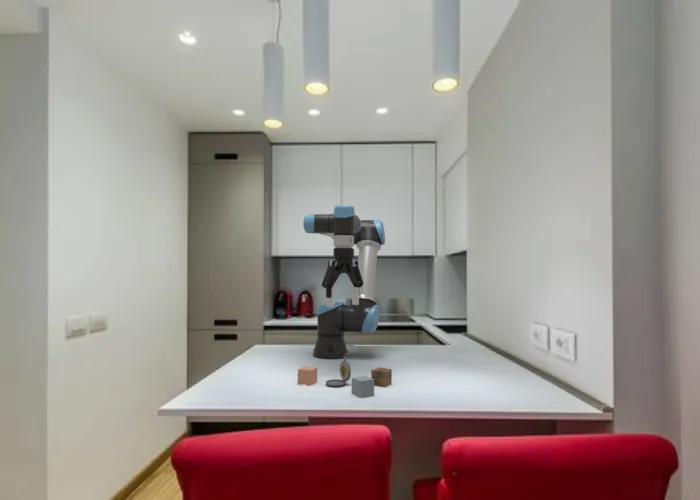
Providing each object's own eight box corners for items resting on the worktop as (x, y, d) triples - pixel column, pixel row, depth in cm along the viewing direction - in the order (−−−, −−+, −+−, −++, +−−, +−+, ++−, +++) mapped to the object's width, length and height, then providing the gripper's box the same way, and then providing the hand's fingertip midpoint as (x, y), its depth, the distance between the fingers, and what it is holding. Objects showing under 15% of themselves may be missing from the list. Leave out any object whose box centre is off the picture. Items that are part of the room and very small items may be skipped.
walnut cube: (371, 385, 150) (371, 370, 150) (378, 381, 154) (378, 367, 154) (384, 387, 147) (384, 372, 147) (391, 384, 151) (391, 369, 151)
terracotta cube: (297, 384, 150) (297, 369, 150) (303, 380, 155) (303, 366, 155) (311, 385, 148) (311, 370, 148) (317, 382, 153) (317, 367, 153)
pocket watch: (322, 385, 148) (322, 355, 148) (334, 380, 155) (335, 350, 156) (343, 389, 144) (344, 357, 144) (355, 383, 152) (356, 353, 152)
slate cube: (351, 393, 140) (351, 377, 140) (364, 391, 142) (364, 375, 142) (360, 398, 135) (360, 381, 135) (374, 395, 138) (374, 379, 138)
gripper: (327, 246, 152) (326, 309, 152) (373, 248, 171) (372, 304, 170) (312, 246, 157) (311, 307, 157) (357, 248, 176) (357, 303, 175)
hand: (343, 306), depth 163 cm, fingers open, 13 cm apart
